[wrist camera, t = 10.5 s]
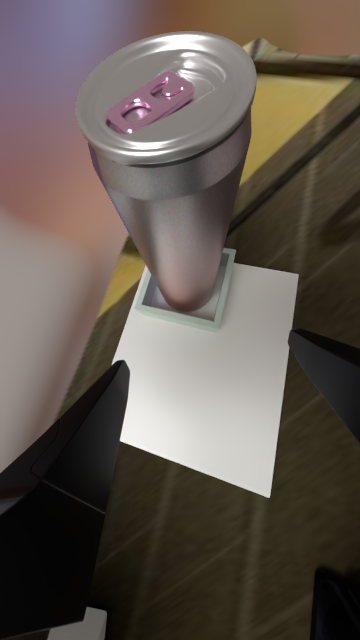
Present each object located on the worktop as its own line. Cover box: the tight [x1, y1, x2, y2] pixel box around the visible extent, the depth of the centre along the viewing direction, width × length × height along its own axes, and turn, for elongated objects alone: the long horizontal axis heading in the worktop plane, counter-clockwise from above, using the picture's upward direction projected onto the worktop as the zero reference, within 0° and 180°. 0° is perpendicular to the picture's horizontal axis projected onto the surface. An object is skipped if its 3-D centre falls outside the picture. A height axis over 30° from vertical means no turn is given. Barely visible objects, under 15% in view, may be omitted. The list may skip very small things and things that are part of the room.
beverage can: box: [75, 31, 257, 312], centre depth 12 cm, size 6×6×15 cm
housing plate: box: [112, 248, 299, 498], centre depth 17 cm, size 22×18×4 cm
